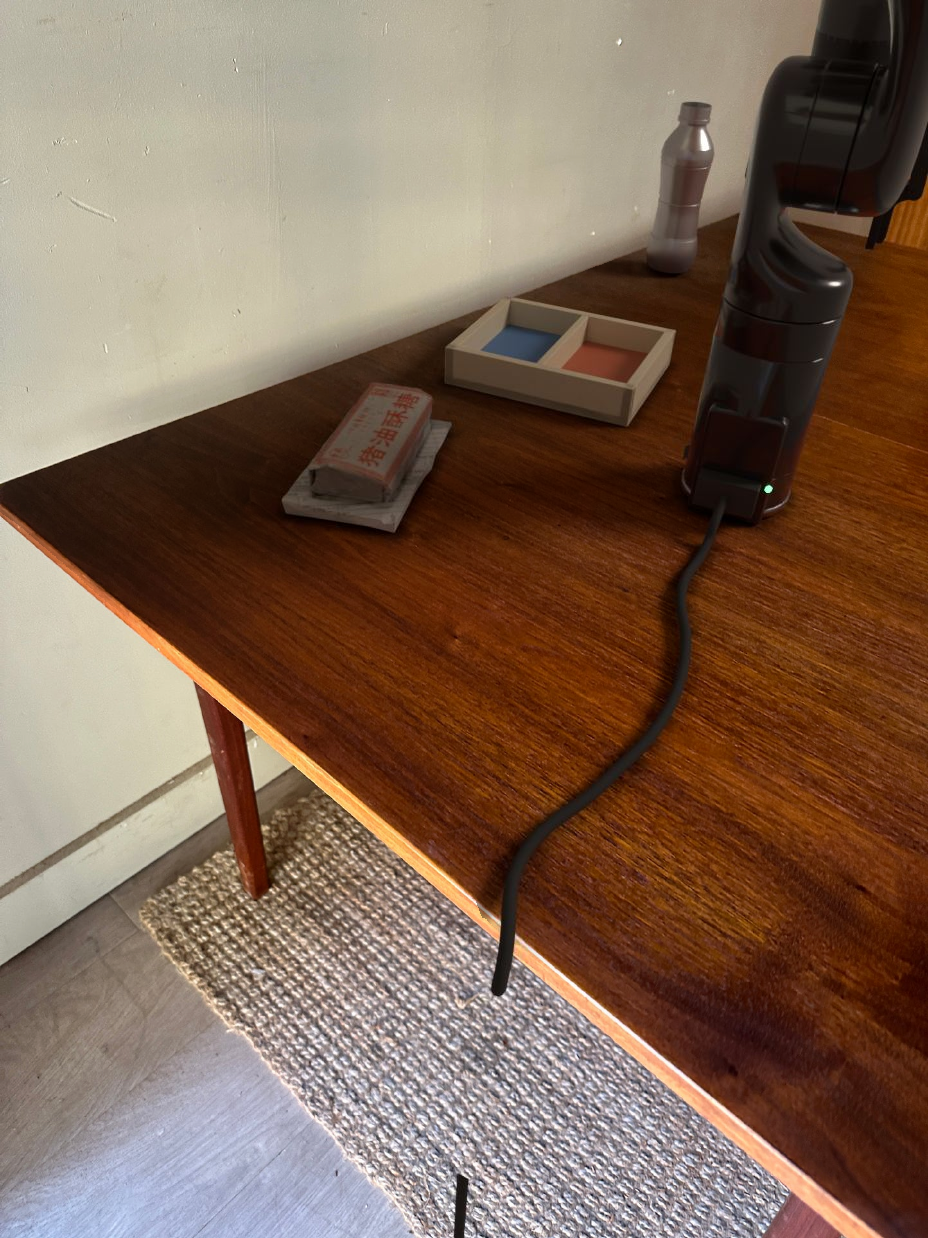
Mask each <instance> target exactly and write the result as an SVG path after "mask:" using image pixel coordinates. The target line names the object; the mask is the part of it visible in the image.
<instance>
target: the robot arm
mask: <svg viewBox="0 0 928 1238" xmlns="http://www.w3.org/2000/svg"><path fill="white" fill-rule="evenodd" d="M815 26H816V27H815V31H814V37H813V42H812V47H811V53H810V55H803V54H800V55H799V54H798V55H796V54H795V55H790V56H787V57H785V58H784V59H782V60H781V61H780V62H779V63H778V64H777V65H776V66H775V67H774V69H773V71H772V73H771V74H770V76H769V77H768V80H767V82H766V84H765V87H764V88H763V92H762V94H761V98H760V101H759V105H758V109H757V113H756V117H755V122H754V126H753V132H752V137H751V142H750V147H749V155H748V158H747V163H746V168H745V172H744V179H745V180H744V186H743V193H742V198H741V204H740V210H739V215H738V221H737V224H736V225H737V226H736V231H735V236H734V240H733V245H732V248H731V249H732V250H731V255H730V259H729V264H728V268H727V273H726V277H725V280H724V286H723V290H722V295H721V300H720V305H719V308H718V314H717V318H716V323H715V327H714V330H713V335H712V340H711V344H710V349H709V354H708V359H707V363H706V368H705V371H704V377H703V382H702V386H701V390H700V394H699V395H700V396H699V400H698V404H697V409H696V412H695V418H694V423H693V426H692V433H691V437H690V441H689V444H687V445H685V447H684V451H683V456H682V461H684V460H685V459H686V460H685V465H684V468H683V470H682V472H681V476H680V477H681V478H680V488H681V491H682V493H683V494H684V496H686V498H687V499H688V502H687V507H689V508H692V509H696V510H699V511H703V512H707V513H710V514H712V515H711V517H710V520H709V523H708V526H707V529H706V532H705V535H704V537H703V540H702V543H701V544H700V547H699V548H698V550H697V552H696V554H695V555H694V556H693V558H692V559H691V561H690V562H689V564H688V565H687V566H686V567H685V569H684V570H683V572H682V573H681V576H680V577H679V580H678V582H677V586H676V591H675V599H674V601H675V602H674V604H675V614H676V619H677V625H678V629H679V644H680V645H679V654H678V660H677V665H676V671H675V674H674V675H675V676H674V680H673V682H672V686H671V687H670V691H669V693H668V695H667V698H666V700H665V702H664V704H663V705H662V708H661V709H660V711H659V712H658V714H657V716H656V717H655V719H654V720H653V722H652V723H651V725H650V726H649V727H648V728H647V729H646V731H645V732H644V733H643V735H642V736H641V737H640V738H639V739H638V740H637V741H636V742H635V743H634V744H633V745H632V746H631V747H629V749H628V750H627V751H626V752H625V753H624V754H623V755H622V756H621V757H620V758H618V760H616V761H615V762H614V763H613V764H612V765H611V766H610V767H609V768H608V769H607V770H606V771H605V772H603V774H601V776H599V777H598V778H597V779H596V780H595V781H594V782H593V783H592V784H591V785H589V787H588V788H586V789H585V790H584V791H583V792H581V793H580V794H578V795H577V796H576V797H575V798H573V799H572V800H570V801H569V802H567V803H566V804H564V805H563V806H562V807H560V808H559V809H558V810H556V811H555V812H554V813H552V814H551V815H549V816H548V817H547V818H546V819H544V820H542V822H541V823H539V825H538V826H536V827H535V828H534V829H533V830H532V832H530V833H529V835H528V836H527V837H526V839H525V840H524V841H523V843H522V844H521V845H520V847H519V849H518V850H517V852H516V854H515V855H514V857H513V859H512V861H511V863H510V865H509V868H508V871H507V874H506V877H505V881H504V885H503V890H502V891H503V892H502V898H501V909H500V911H501V912H500V928H499V932H500V933H499V941H498V949H497V955H496V961H495V962H496V963H495V966H494V971H493V975H492V980H491V984H490V992H491V994H492V995H493V996H494V997H497V998H498V997H501V996H503V995H504V994H505V993H506V991H507V987H508V983H509V978H510V975H511V970H512V964H513V959H514V951H515V944H516V931H517V930H516V929H517V928H516V927H517V907H518V905H517V904H518V893H519V887H520V883H521V879H522V876H523V873H524V870H525V869H526V867H527V864H528V862H529V861H530V859H531V858H532V856H533V854H534V853H535V852H536V850H537V849H538V847H539V846H540V845H541V844H542V843H543V842H544V841H545V840H546V839H547V838H548V837H549V836H550V835H551V834H552V833H553V832H554V831H556V830H557V829H558V828H559V827H561V826H562V825H563V824H564V823H566V822H567V821H569V820H570V819H572V818H573V817H575V816H576V815H577V814H579V812H582V811H583V810H584V809H586V808H587V807H588V806H589V805H591V804H592V803H593V802H594V801H595V800H597V799H598V798H599V797H600V796H601V795H603V793H604V792H606V791H607V790H608V789H609V788H610V787H611V786H612V785H613V784H614V783H615V782H616V781H617V780H618V779H619V778H620V777H621V776H623V774H624V773H625V772H626V771H627V770H629V768H631V767H632V766H633V765H634V764H635V763H636V762H637V761H638V760H639V759H640V758H641V757H642V756H643V755H644V754H645V753H646V752H647V751H648V749H649V748H650V747H651V746H652V745H653V744H654V742H655V741H656V740H657V739H658V737H659V736H660V735H661V733H663V730H664V729H665V727H666V726H667V724H668V722H669V721H670V719H671V718H672V716H673V714H674V711H675V710H676V708H677V706H678V704H679V701H680V699H681V696H682V694H683V692H684V689H685V685H686V683H687V678H688V674H689V668H690V663H691V657H692V655H691V654H692V643H693V642H692V641H693V640H692V639H693V638H692V631H691V624H690V620H689V615H688V614H689V613H688V610H687V609H688V608H687V593H688V588H689V584H690V581H691V579H692V578H693V577H694V575H695V574H696V572H697V571H698V570H699V569H700V567H701V565H703V563H704V561H705V559H706V558H707V556H708V554H709V552H710V551H711V548H712V545H713V543H714V540H715V538H716V535H717V532H718V528H719V526H720V523H721V520H722V518H723V517H726V518H730V519H734V520H736V521H737V520H738V521H741V522H745V523H748V524H753V525H760V523H761V521H762V519H765V518H769V517H772V516H775V515H777V514H779V513H780V512H782V511H783V510H784V509H785V508H786V506H787V504H788V503H789V499H790V496H791V488H792V485H793V482H794V478H795V475H796V472H797V469H798V466H799V461H800V459H801V455H802V452H803V448H804V447H805V443H806V439H807V437H808V433H809V429H810V426H811V424H812V421H813V418H814V417H813V416H814V413H815V410H816V408H817V407H816V406H817V403H818V401H819V397H820V395H821V390H822V387H823V384H824V381H825V378H826V374H827V371H828V369H829V365H830V362H831V358H832V355H833V352H834V350H835V346H836V343H837V340H838V337H839V334H840V331H841V327H842V324H843V321H844V317H845V314H846V311H847V307H848V304H849V302H850V298H851V295H852V290H853V286H854V275H853V271H852V270H851V268H850V267H849V266H848V265H847V264H846V263H845V262H844V261H843V260H842V259H841V258H839V257H838V256H837V255H836V254H833V253H832V252H830V251H828V250H826V249H824V248H823V247H821V246H820V245H818V244H816V243H815V242H813V240H811V239H809V238H808V237H807V236H806V235H805V234H804V233H803V232H802V231H801V230H800V229H799V228H798V227H797V226H796V225H795V223H794V222H793V221H792V220H791V219H792V218H791V217H790V216H789V213H788V208H792V209H798V210H804V211H805V210H806V211H811V212H819V213H825V214H832V215H835V214H836V215H838V216H843V217H853V218H872V220H871V225H870V228H869V231H868V236H867V239H866V243H865V247H864V249H865V250H871V251H874V249H875V247H876V244H880V245H881V244H883V242H884V241H885V240H886V238H887V235H888V232H889V228H890V225H891V222H892V217H893V214H894V210H895V207H896V206H897V205H898V204H899V203H902V202H905V201H911V202H917V201H918V200H920V199H921V198H922V196H923V195H924V191H925V187H926V185H927V180H928V0H821V2H820V6H819V11H818V17H817V22H816V25H815ZM469 1183H470V1180H469V1178H468V1177H467V1176H464V1175H463V1174H460V1173H459V1172H457V1173H456V1183H455V1185H456V1187H455V1200H454V1201H455V1204H454V1205H455V1206H454V1223H453V1238H465V1235H466V1234H465V1233H466V1220H467V1207H468V1206H467V1205H468V1195H469V1194H468V1193H469Z"/></svg>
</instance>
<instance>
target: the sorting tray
mask: <svg viewBox="0 0 928 1238" xmlns="http://www.w3.org/2000/svg"><path fill="white" fill-rule="evenodd" d="M676 332H677V330H675V329H672V328H666V327H661V326H656V325H652V324H646V323H642V322H637V321H632V320H627V319H622V318H617V317H612V316H607V315H603V314H597V313H592V312H588V311H582V310H577V309H572V308H568V307H563V306H558V305H555V304H554V305H553V304H549V303H545V302H544V303H543V302H540V301H539V302H538V301H533V300H529V299H528V300H527V299H523V298H520V297H514V296H509V295H504V297H503V298H502V299H500V300H499V301H498V302H497V303H496V304H494V305H493V306H492V307H491V308H490V309H489V310H488V311H486V312H485V313H484V314H483V315H482V316H480V317H479V318H478V319H477V320H476V321H475V322H473V323H472V324H471V325H470V326H468V328H466V329H465V330H464V331H463V332H461V333H460V334H459V335H458V336H457V337H456V338H454V339H453V340H452V341H451V342H450V343H448V344H447V345H445V347H444V348H445V349H444V350H445V351H444V353H445V355H444V384H447V385H450V386H454V387H459V388H463V389H467V390H471V391H476V392H480V393H484V394H489V395H492V396H496V397H501V398H506V399H509V400H514V401H517V402H522V403H526V404H530V405H535V406H538V407H543V408H546V409H550V410H555V411H559V412H564V413H568V414H571V415H576V416H580V417H584V418H589V419H593V420H596V421H601V422H605V423H610V424H613V425H617V426H622V427H628V426H629V425H630V423H631V422H632V421H633V419H634V417H635V416H636V414H637V413H638V411H639V410H640V408H641V407H642V405H644V403H645V401H646V400H647V398H648V397H649V395H650V394H651V392H652V391H653V390H654V388H655V386H656V385H657V383H658V382H659V381H660V379H661V378H662V377H663V375H664V374H665V372H666V370H667V369H668V368H669V366H670V363H671V358H672V353H673V348H674V343H675V338H676Z"/></svg>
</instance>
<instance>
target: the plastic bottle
mask: <svg viewBox="0 0 928 1238" xmlns="http://www.w3.org/2000/svg"><path fill="white" fill-rule="evenodd" d="M712 108H713V105H711V104H710V103H707V102H706V103H705V102H701V101H683V102H682V103H681V104H680V108H679V114H678V115H677V118H676V119H677V121H678V126H677V127H675V129H673V131H672V132H671V133H670V134H669V135H668V137H667V139H666V140H665V141H664V143H663V145H662V148H661V150H660V175H659V178H660V179H659V190H658V195H659V196H658V199H657V200H658V201H657V207H656V213H655V216H654V221H653V225H652V231H651V232H650V234H649V237H648V240H647V244H646V249H645V251H646V252H645V257H646V258H645V259H646V262H647V264H648V266H649V268H650V269H652V270H654V271H657V272H660V273H666V274H667V273H668V274H682V273H686V272H687V271H689V270H690V269H691V268H692V267H693V265H694V263H695V260H696V257H697V255H698V236H697V235H698V229H699V228H698V227H699V220H700V218H699V217H700V209H701V205H702V199H703V197H704V192H705V187H706V185H707V181H708V177H709V174H710V171H711V168H712V164H713V162H714V158H715V147H714V143H713V141H712V140H713V139H712V138H711V135H710V133H709V130H708V128H707V126H708V125H709V124H710V123H711V114H712Z"/></svg>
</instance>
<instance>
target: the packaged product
mask: <svg viewBox="0 0 928 1238" xmlns="http://www.w3.org/2000/svg"><path fill="white" fill-rule="evenodd" d="M433 402H434V399H433V396H432V395H431V394H429V393H427V392H426V391H424V390H423V389H421V388H418V387H410V386H402V385H397V384H393V383H392V384H391V383H381V382H371V383H369V385H368V387H367V388H366V389H365V390H364V391H363V393H362V394H361V395H360V396H359V397H358V399H357V401H356V402H355V403H354V404H353V405H352V406H350V409H349V411H347V413H346V415H345V416H344V417H343V418H342V420H341V421H340V423H339V424H338V425H337V427H336V428H335V430H334V431H333V432H332V433H331V435H330V436H329V437H328V439H327V440H326V441H325V442H324V443H323V444H322V446H321V448H320V449H319V450H318V451H317V452H316V454H315V456H314V457H313V458H312V459H311V461H310V462H309V463H308V466H307V467H306V468H305V469H304V470H302V472H301V473H300V474H299V476H298V477H297V479H296V480H295V481H294V482H293V484H292V486H291V487H289V490H288V491H287V492H286V494H285V495H284V496H283V497H282V499H281V503H282V507H283V509H284V512H285V514H287V515H293V516H300V517H306V518H307V517H308V518H314V519H321V520H327V521H333V522H340V523H346V524H353V525H357V526H364V527H368V528H373V529H377V530H381V531H386V532H389V533H396V530H397V528H398V526H399V525H400V522H401V521H402V519H403V516H405V513H406V512H407V509H408V508H409V506H410V503H411V501H412V499H413V497H414V496H415V494H416V492H417V490H418V489H419V487H420V486H421V484H422V482H423V480H424V479H425V478H426V477H427V476H428V474H429V473H430V472H431V471H432V469H433V465H434V462H435V459H436V455H437V454H438V452H439V450H440V449H441V447H442V446H443V444H444V442H445V439H446V438H447V436H448V433H449V432H450V430H451V427H452V425H453V424H452V421H445V420H439V419H435V418H434V419H433V418H431V415H432V412H433Z"/></svg>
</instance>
